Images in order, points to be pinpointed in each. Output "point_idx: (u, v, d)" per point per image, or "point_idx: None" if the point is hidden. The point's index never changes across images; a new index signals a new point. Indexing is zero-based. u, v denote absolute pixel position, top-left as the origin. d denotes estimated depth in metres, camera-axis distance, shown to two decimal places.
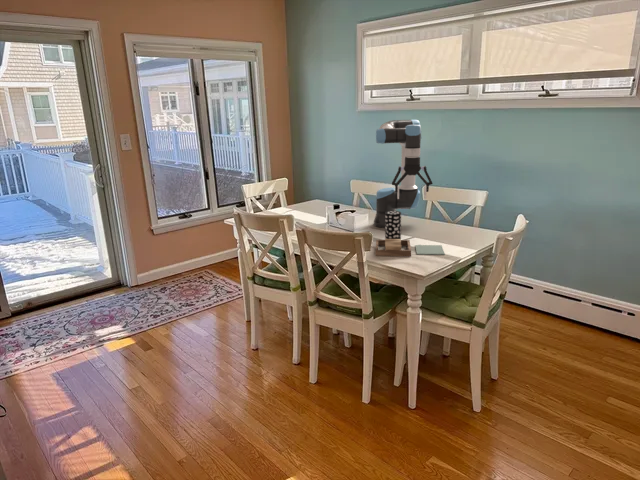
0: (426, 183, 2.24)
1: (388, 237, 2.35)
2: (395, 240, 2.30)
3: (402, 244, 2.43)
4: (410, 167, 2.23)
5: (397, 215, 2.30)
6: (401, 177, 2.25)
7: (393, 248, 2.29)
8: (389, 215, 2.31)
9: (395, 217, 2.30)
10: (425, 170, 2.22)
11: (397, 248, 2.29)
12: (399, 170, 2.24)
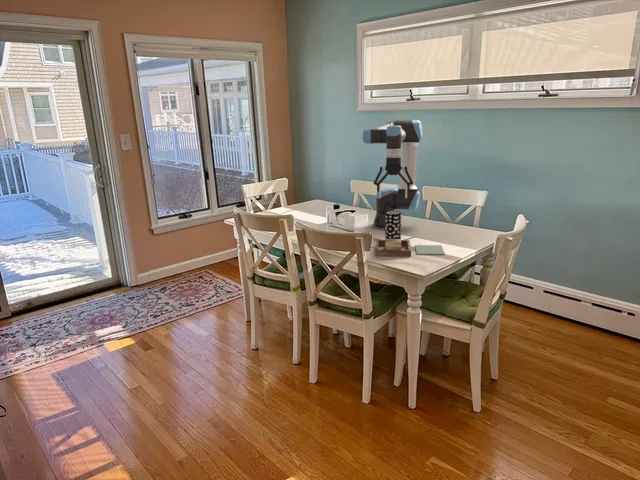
0: (407, 183, 2.28)
1: (388, 237, 2.35)
2: (395, 240, 2.30)
3: (402, 244, 2.43)
4: (391, 167, 2.27)
5: (397, 215, 2.30)
6: (382, 177, 2.30)
7: (393, 248, 2.29)
8: (389, 215, 2.31)
9: (395, 217, 2.30)
10: (406, 170, 2.26)
11: (397, 248, 2.29)
12: (380, 170, 2.28)
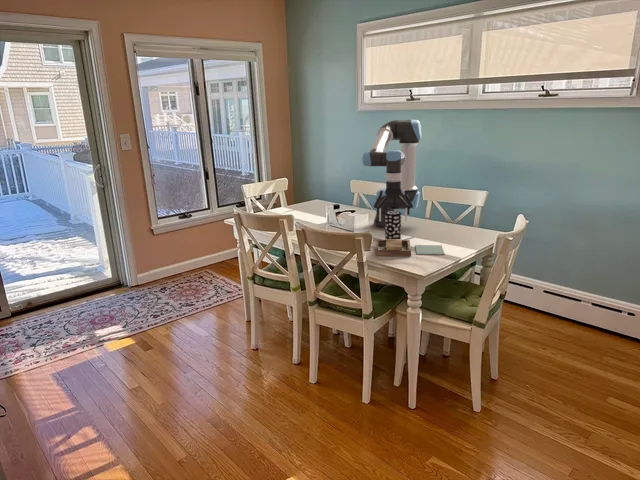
0: (407, 206, 2.30)
1: (388, 237, 2.35)
2: (396, 240, 2.30)
3: (402, 244, 2.43)
4: (391, 191, 2.29)
5: (397, 215, 2.30)
6: (383, 200, 2.32)
7: (394, 248, 2.29)
8: (389, 215, 2.31)
9: (395, 217, 2.30)
10: (406, 194, 2.28)
11: (398, 248, 2.29)
12: (380, 194, 2.30)
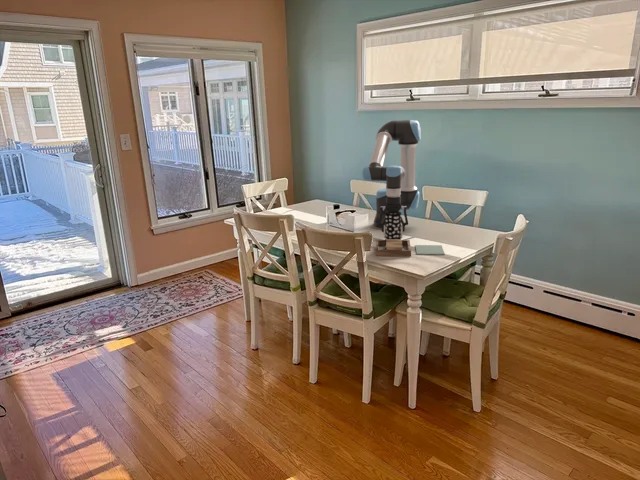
0: (402, 223, 2.33)
1: (388, 237, 2.35)
2: (396, 240, 2.30)
3: (402, 244, 2.43)
4: (391, 205, 2.31)
5: (397, 215, 2.30)
6: (385, 217, 2.34)
7: (394, 248, 2.29)
8: (389, 215, 2.31)
9: (395, 217, 2.30)
10: (405, 210, 2.31)
11: (398, 248, 2.29)
12: (381, 210, 2.33)
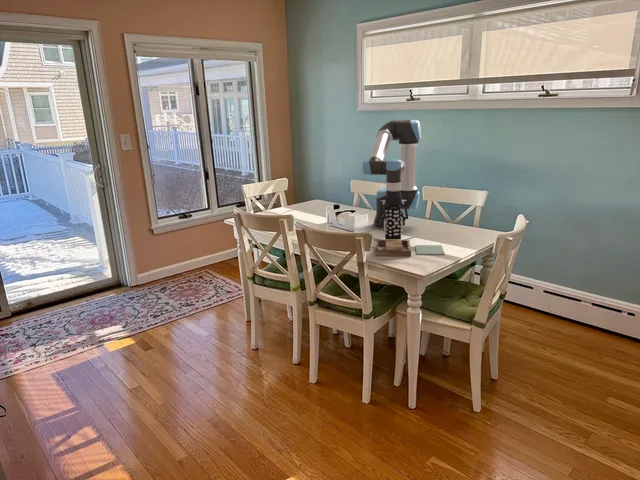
0: (403, 217, 2.33)
1: (388, 231, 2.34)
2: (396, 240, 2.29)
3: (402, 244, 2.43)
4: (391, 199, 2.31)
5: (397, 209, 2.29)
6: (385, 211, 2.33)
7: (394, 248, 2.29)
8: (389, 210, 2.30)
9: (396, 211, 2.29)
10: (405, 204, 2.30)
11: (398, 248, 2.28)
12: (381, 204, 2.32)
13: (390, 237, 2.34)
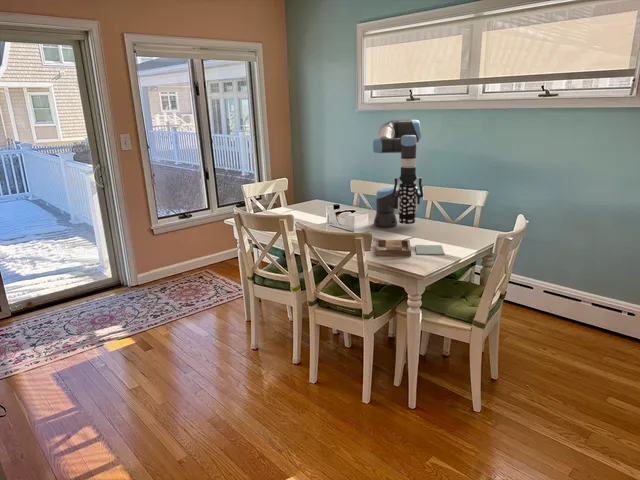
0: (417, 195, 2.27)
1: (402, 209, 2.28)
2: (396, 240, 2.29)
3: (402, 244, 2.43)
4: (405, 176, 2.25)
5: (412, 186, 2.23)
6: (399, 188, 2.28)
7: (394, 248, 2.29)
8: (404, 187, 2.24)
9: (410, 188, 2.23)
10: (420, 182, 2.24)
11: (398, 248, 2.28)
12: (396, 181, 2.26)
13: (404, 215, 2.28)
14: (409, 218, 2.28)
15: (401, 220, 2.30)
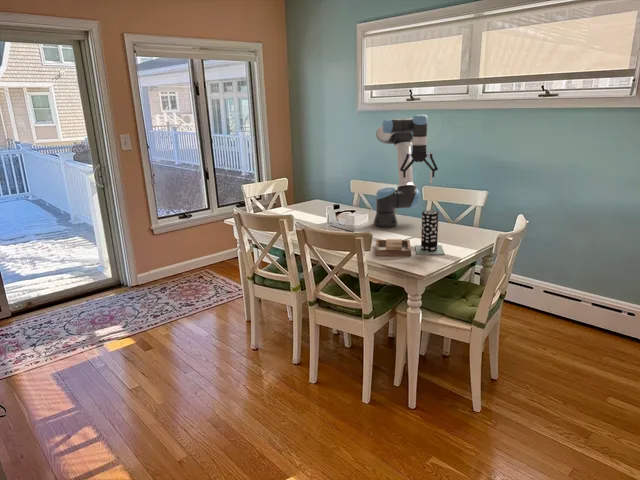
0: (432, 169, 2.42)
1: (425, 237, 2.29)
2: (396, 240, 2.29)
3: (402, 244, 2.43)
4: (417, 154, 2.41)
5: (435, 215, 2.25)
6: (409, 163, 2.43)
7: (394, 248, 2.29)
8: (427, 215, 2.25)
9: (433, 217, 2.25)
10: (431, 157, 2.40)
11: (398, 248, 2.28)
12: (407, 157, 2.42)
13: (427, 243, 2.30)
14: (432, 246, 2.30)
15: (423, 248, 2.32)
